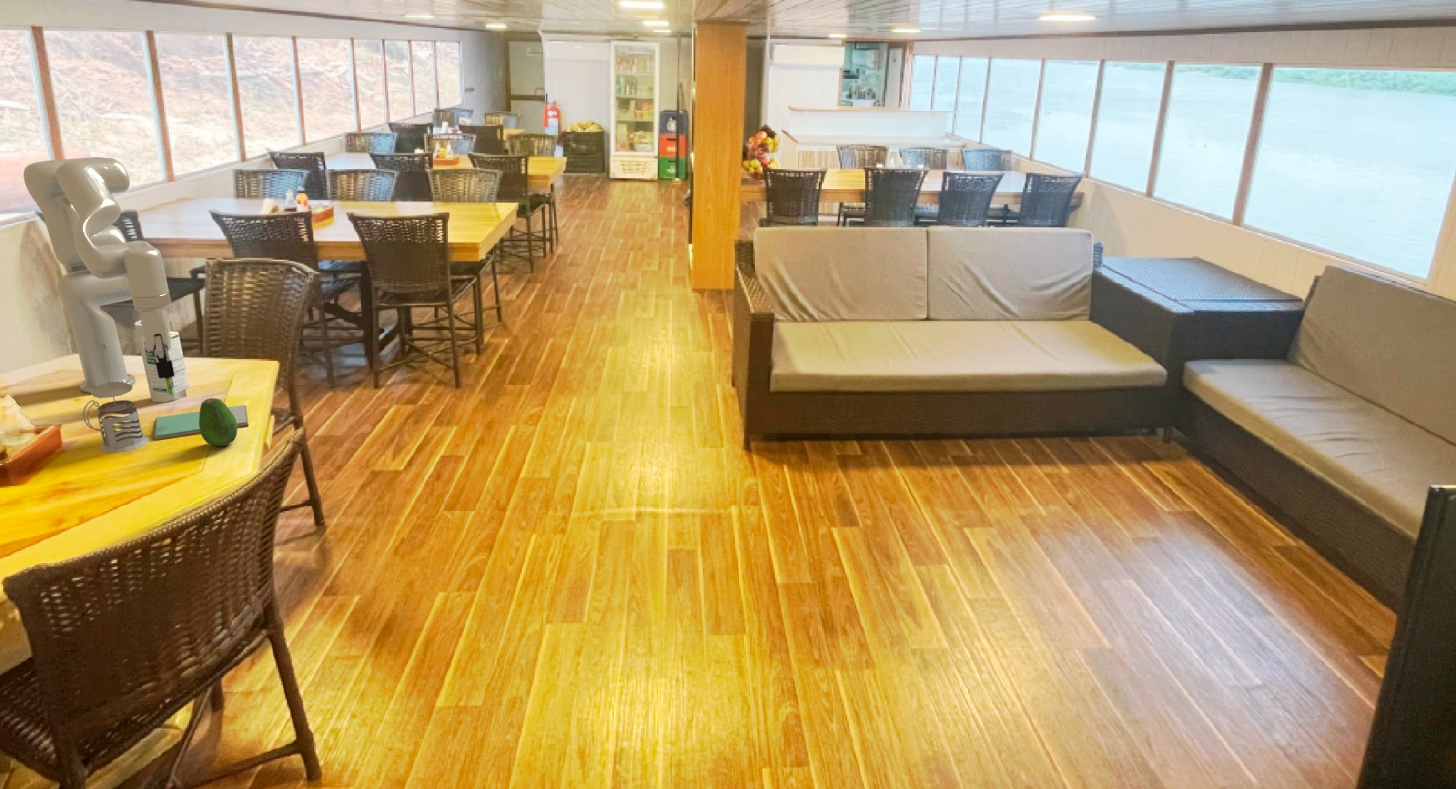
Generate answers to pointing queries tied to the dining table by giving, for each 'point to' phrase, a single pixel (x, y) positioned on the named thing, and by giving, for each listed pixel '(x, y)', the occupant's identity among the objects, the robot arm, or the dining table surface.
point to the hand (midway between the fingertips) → (167, 370)
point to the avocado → (217, 423)
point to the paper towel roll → (154, 396)
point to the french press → (113, 438)
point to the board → (191, 423)
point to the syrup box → (180, 376)
